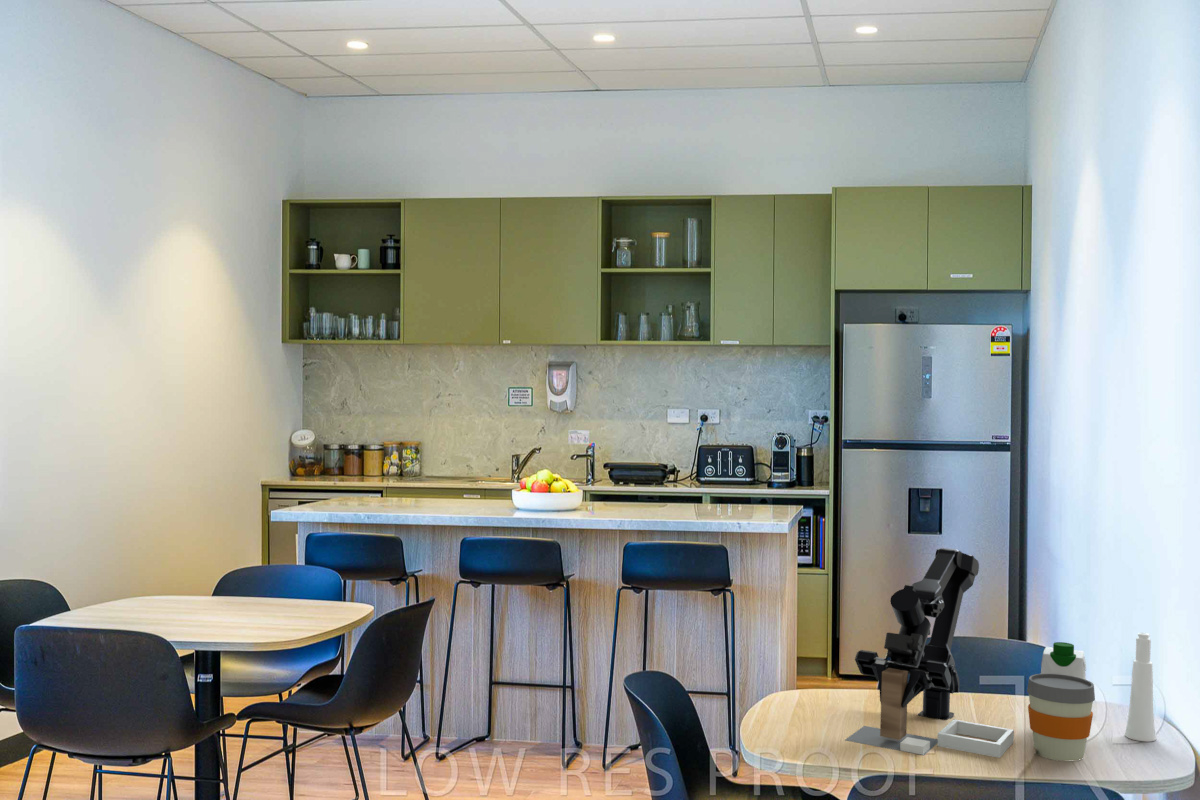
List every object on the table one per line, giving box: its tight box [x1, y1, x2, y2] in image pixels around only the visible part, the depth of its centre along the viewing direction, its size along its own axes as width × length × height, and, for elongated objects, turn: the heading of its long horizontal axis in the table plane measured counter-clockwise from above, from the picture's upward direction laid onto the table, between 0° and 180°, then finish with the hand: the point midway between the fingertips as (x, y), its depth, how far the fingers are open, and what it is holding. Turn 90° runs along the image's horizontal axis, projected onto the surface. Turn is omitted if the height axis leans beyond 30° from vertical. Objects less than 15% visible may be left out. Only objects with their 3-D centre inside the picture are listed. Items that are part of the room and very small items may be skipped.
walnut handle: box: [879, 668, 909, 740], centre depth 231 cm, size 4×4×13 cm
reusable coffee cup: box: [1026, 673, 1096, 761], centre depth 228 cm, size 13×13×15 cm
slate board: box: [844, 725, 938, 756], centre depth 231 cm, size 12×16×2 cm
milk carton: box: [1040, 641, 1087, 680], centre depth 241 cm, size 9×9×20 cm
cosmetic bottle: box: [1124, 632, 1157, 743], centre depth 242 cm, size 6×6×22 cm
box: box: [936, 718, 1015, 759], centre depth 229 cm, size 12×12×4 cm
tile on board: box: [900, 737, 930, 756], centre depth 225 cm, size 4×4×2 cm
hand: (891, 704), depth 229 cm, fingers closed on walnut handle, 4 cm apart
